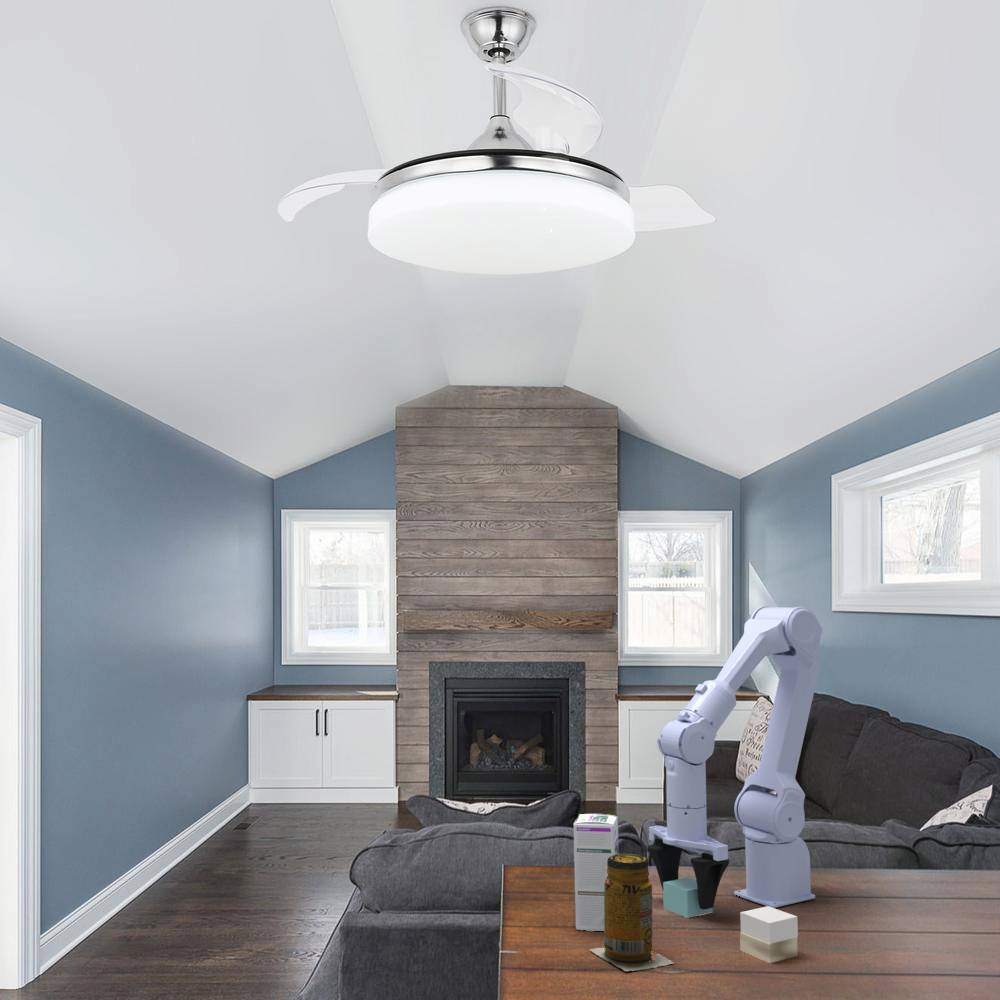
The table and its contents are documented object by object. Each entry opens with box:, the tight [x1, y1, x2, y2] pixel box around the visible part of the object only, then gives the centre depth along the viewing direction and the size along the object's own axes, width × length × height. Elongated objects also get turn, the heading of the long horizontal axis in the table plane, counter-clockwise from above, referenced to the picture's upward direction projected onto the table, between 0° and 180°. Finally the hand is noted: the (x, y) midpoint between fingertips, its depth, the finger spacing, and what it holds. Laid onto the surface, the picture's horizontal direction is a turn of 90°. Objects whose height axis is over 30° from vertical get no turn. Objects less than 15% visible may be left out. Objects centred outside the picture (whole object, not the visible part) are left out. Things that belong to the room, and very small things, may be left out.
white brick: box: [739, 906, 799, 944], centre depth 125 cm, size 5×5×2 cm
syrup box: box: [573, 813, 620, 932], centre depth 136 cm, size 6×6×14 cm
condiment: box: [589, 853, 675, 972], centre depth 124 cm, size 7×8×12 cm
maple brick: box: [739, 932, 799, 964], centre depth 125 cm, size 5×5×2 cm
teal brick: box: [662, 876, 714, 918], centre depth 142 cm, size 5×5×4 cm
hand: (688, 901), depth 142 cm, fingers open, 7 cm apart
